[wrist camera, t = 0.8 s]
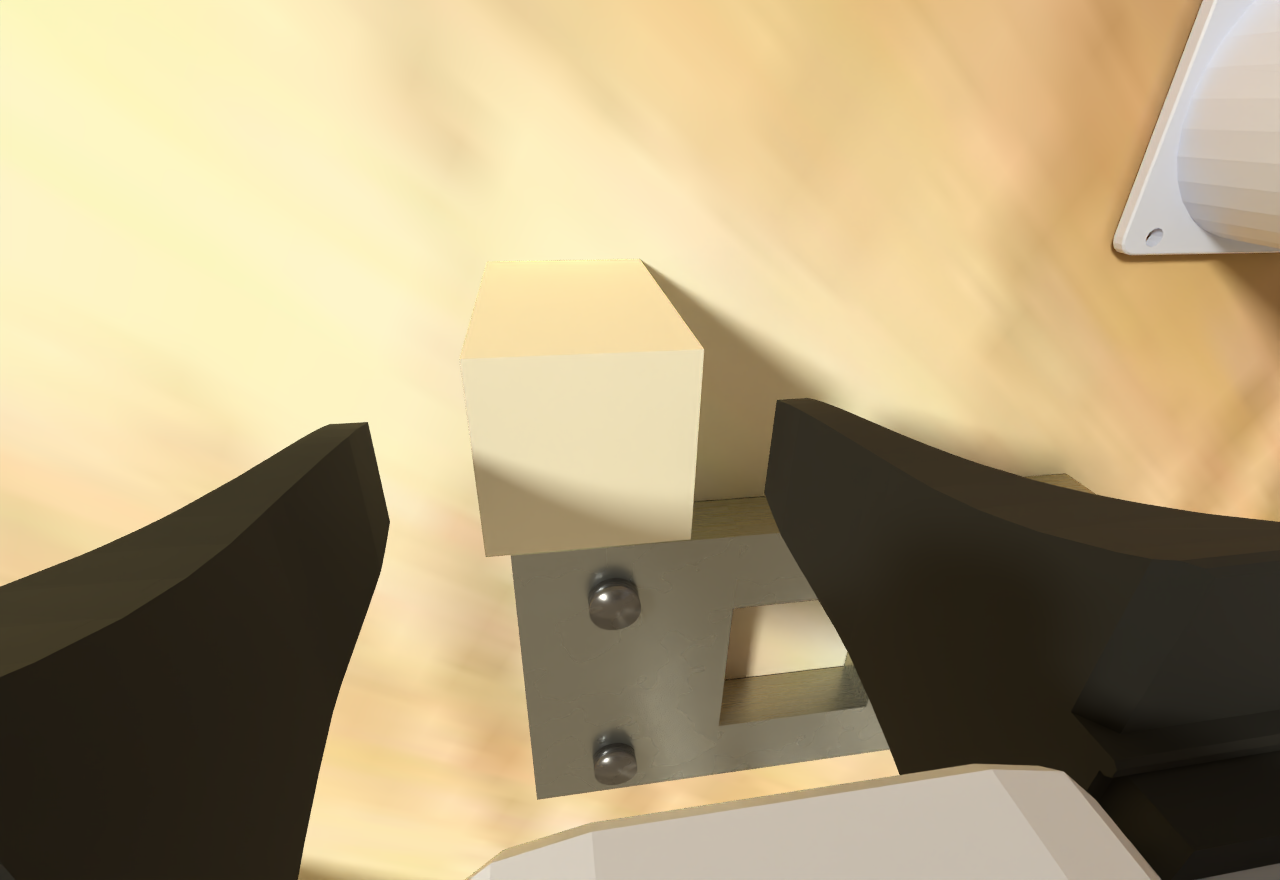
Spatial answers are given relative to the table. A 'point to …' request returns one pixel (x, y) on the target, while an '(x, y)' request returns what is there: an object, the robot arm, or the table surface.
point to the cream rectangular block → (580, 407)
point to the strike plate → (675, 659)
